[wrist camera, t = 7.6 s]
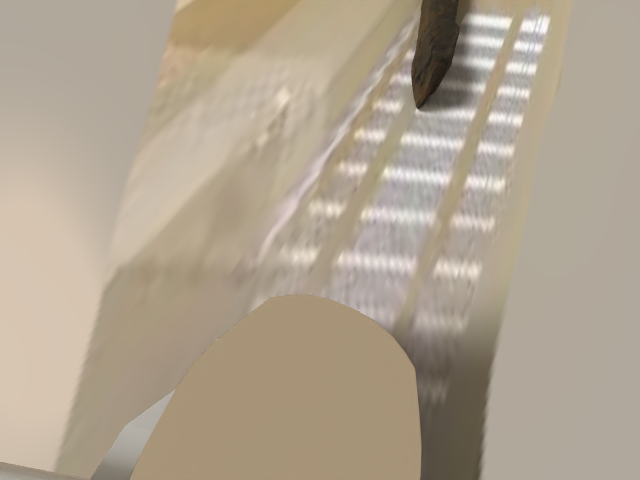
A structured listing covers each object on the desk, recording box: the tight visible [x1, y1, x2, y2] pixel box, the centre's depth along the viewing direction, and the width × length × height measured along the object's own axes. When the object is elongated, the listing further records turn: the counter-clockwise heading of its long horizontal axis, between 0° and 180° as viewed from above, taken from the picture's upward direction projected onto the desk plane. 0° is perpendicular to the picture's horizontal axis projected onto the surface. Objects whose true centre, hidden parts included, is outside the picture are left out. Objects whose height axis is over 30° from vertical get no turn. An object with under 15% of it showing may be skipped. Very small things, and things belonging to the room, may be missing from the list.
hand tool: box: [411, 0, 459, 109], centre depth 25 cm, size 19×4×5 cm, turn 165°
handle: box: [130, 295, 421, 480], centre depth 12 cm, size 5×6×15 cm
